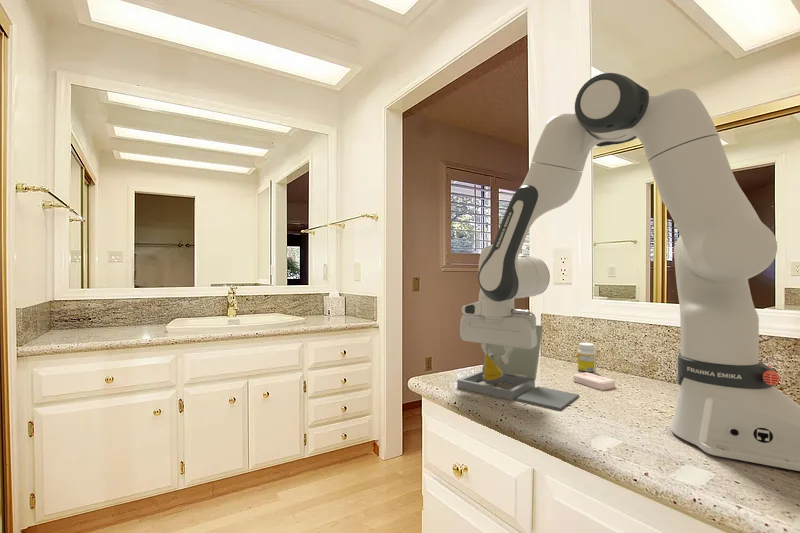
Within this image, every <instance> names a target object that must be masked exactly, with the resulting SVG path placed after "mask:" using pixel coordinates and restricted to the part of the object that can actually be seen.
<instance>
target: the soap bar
mask: <svg viewBox="0 0 800 533" xmlns="http://www.w3.org/2000/svg"><path fill="white" fill-rule="evenodd" d="M572 378H573V379H572V380H573V382H576V383H579V384H580V385H583V386H584V385H585V386H587V387H590V388H594V389H597V390H601V391H604V390H609V389H613V388H616V380H614V379H611V378H608V377H605V376H600V375H597V374H591V373H587V372H586V373H580V372H579V373H574V374H573V377H572Z"/></svg>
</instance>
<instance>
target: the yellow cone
mask: <svg viewBox="0 0 800 533" xmlns="http://www.w3.org/2000/svg"><path fill="white" fill-rule="evenodd" d="M503 379H504V373H503V371H502V370H501V369H499V368H498V367H497V365H496V364H495V363H494V362H493V360H492V359H491V358H490V357H489V356H488V354H487V353H486V359H485V370H484V374H483V379H482V380H483V382H484V383H485V384H486V385H493V386H494V387H499V386H498V383H501V382H500V381H502V380H503Z"/></svg>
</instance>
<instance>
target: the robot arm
mask: <svg viewBox="0 0 800 533" xmlns="http://www.w3.org/2000/svg"><path fill="white" fill-rule="evenodd" d="M635 139H638V140H639V141H640V144H641V145H642V146H643V147H642V148H643V150H644V152H645V155H646V159H647V161H648V164H649V167H650V170H651V173H652V176H653V179H654V181H655V185H656V188H657V191H658V193H659V197H660V199H661V202H662V203H663V204H664V206H665V208H666V210H667V211H668V214H669V215H670V217H671V219H672V221H673V223H674V224H675V227H676V229H677V232H678V233H679V236H678V238H677V239H676V241H675V244H674V249H673V256H674V257H673V258H674V267H675V268H674V269H675V271H674V272H675V280H676V289H677V297H678V304H679V314H680V315H679V316H680V317H679V318H680V326H679V328H680V332H679V333H680V353H678V355H677V360H676V380H677V384H678V393H677V394H678V395H677V401H676V406H675V409H674V410H675V411H674V414H673V417H672V421H671V423H670V424H669V428H670V430H671V432H672V433H673V434H674V435H676V436H677V437H679V438H681V439H683V440H684V441H686V442H689V443H691V444H693V445H695V446H697V447H698V448H700V449H701V450H702V451H703V452H705V453H706V454H709V455H712V456H716V457H722V458H727V459H732V460H739V461H744V462H749V463H754V464H761V465H765V466H770V467H776V468H781V469H787V470H790V471H791V470H793V471H798V472H800V404H799V403H797V402H796V401H795V400H793V399H792V398H791V397H789V396H788V395H786V394H785V393H783V392H782V391H781V390H780V389H778V388H776V387H775V386H776V385H777V384H778V383H780V376H779V373H778V372H776V371H775V369H774V368H772V366H770V365H768V366H767V364H765V363H763V362H760V351H759V350H760V341H759V340H760V337H759V336H760V330H759V329H760V326H759V325H760V323H759V322H760V320H759V319H760V318H759V314H758V312H757V310H756V308H755V304H754V302H753V298H752V294H751V289H750V283H749V279H752V278H753V277H756V276H757V275H759V274H761V273H762V272H763V271H765V270H767V268H769V267H770V266H771V265H772V263H773V262H774V260H775V258H776V256H777V252H778V242H777V238H776V236H775V234H774V232H773V231H772V230H771V228H770V227H768V226H767V225H766V224H764V223H763V222H762V221H761V219H760V217H759V215H758V213H757V212H756V210H755V209H754V207H753V205H752V203H751V202H750V200H749V199H748V197H747V195H746V194H745V193H744V191H743V190H742V188H741V187H740V185H739V183H738V181H737V180H736V179H737V178H736V177H735V175H734V173H733V171H732V168H731V165H730V162H729V159H728V156H727V154H726V151H725V150H724V146H723V143H722V141H721V139H720V136H719V133H718V130H717V128H716V126H715V124H714V121H713V118H712V117H711V115H710V113H709V111H708V110H707V108H706V107H705V104H704V103H703V102H702V101H701V99H700V98H699V96H698V95H697V93H696V92H694V91H693V90H691V89H689V88H688V89H687V88H676V89H675V88H674V89H670V90H667V91H665V92H661V93H658V94H657V95H653V96H652V95H650V93H649V90H648V89H647V88H646V87H643V86H642V85H640V84H639V83H637V82H636V81H634V80H633V79H631V78H629V77H628V76H626V75H624V74H620V73H616V72H606V73H601V74H597V75H595V76H593V77H591V78H590V79H589V80H588V81H586V82H585V83H584V84H583V85H582V86H581V88H580V89H579V91H578V93H577V94H576V98H575V102H574V113H561V114H556V115H555V116H552V117H551V118H550V119H549V120H548V121H547V123H545V125H544V127H543V130H542V133H541V135H540V136H539V139H538V142H537V144H536V146H535V150H534V152H533V156H532V159H531V162H530V165H529V169H528V172H527V174H526V176H525V178H524V181H523V182H522V184H521V185H520V187H519V188H518V189H517V190H516V191H515V192H514V194H513V196H512V197H511V199H510V200H509V203H508V205H507V208H506V210H505V212H504V215H503V218H502V220H501V223H500V226H499V228H498V229H497V230H498V231H497V233H496V236H495V239H494V240H493V244H491V245H488V246H486V247H484V248H482V249H481V251H480V255H479V259H478V277H477V280H478V284H479V288H480V289H479V293H478V301H474V302H471V303H468V304H464V305H462V307H461V313H462V316H461V318H460V323H459V336H460V338H461V340H462V341H465V342H470V343H479V344H481V350H482V351H483V353H484V356H485V357H486V353H487V354H488V356H489V357H490V358H491V359H492V360H494V354H492V353H491V352H490V350H489V346H490V344H493V345H500V346H504V350H506V352H505V354H504V355H503V356H500V363H503V364H507V363H508V362H509V355H510V354H511V352H512V350H513V347H515V348H523V349H532V348H534V347H535V346H536V345H537V335H536V329H535V326H536V325H537V318H536V314H534V313H533V312H531V311H530V310H528V309H517V308H515V299H521V298H522V299H524V298H529V297H532V298H533V297H535V296H539V295H541V294H543V293H544V292H545V291H546V290H547V288H548V287H549V284H550V281H551V279H550V278H551V276H550V271H549V268H548V266H547V264H546V263H545V261H543V260H542V259H540V258H537V257H533V256H529V255H527V254H523V253H522V252H521V251H522V249H523V246H524V243H525V240H526V239H527V236H528V233H529V231H530V229H531V227H532V225H533V224H534V223H535V222H536V220H537V219H538V218H540V217H541V216H543V215H544V214H546V213H548V212H550V211H552V210H555V209H557V208H560V207H562V206H564V205H565V204H567V203H568V202H569V201H570V200H572V198H574V195H575V193H576V191H577V190H578V187H579V184H580V181H581V179H582V175H583V172H584V170H585V166H586V165H585V164H586V162H587V159H588V156H589V155H590V152H591V150H592V149H593V148H594V147H595V146H596V147H606V146H611V145H620V144H625V143H628V142H631V141H633V140H635Z"/></svg>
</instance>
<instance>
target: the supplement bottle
mask: <svg viewBox="0 0 800 533" xmlns="http://www.w3.org/2000/svg"><path fill="white" fill-rule="evenodd" d="M596 357H597V355H596V350H595V344H593V343H591V342H579V343H578V350H577V372H578V373H579V374H580V373H586V372H587V373H591V374H594V375H596V373H597V364H596V363H597V361H596V360H597V359H596Z"/></svg>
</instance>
